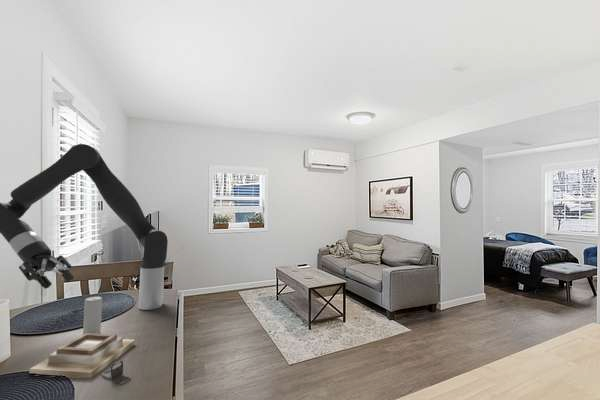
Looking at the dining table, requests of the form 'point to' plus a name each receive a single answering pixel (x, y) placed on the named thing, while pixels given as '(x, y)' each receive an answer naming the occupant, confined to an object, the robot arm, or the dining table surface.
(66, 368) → the stand
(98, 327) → the beverage can
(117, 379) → the strap clip
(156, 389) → the dining table surface
